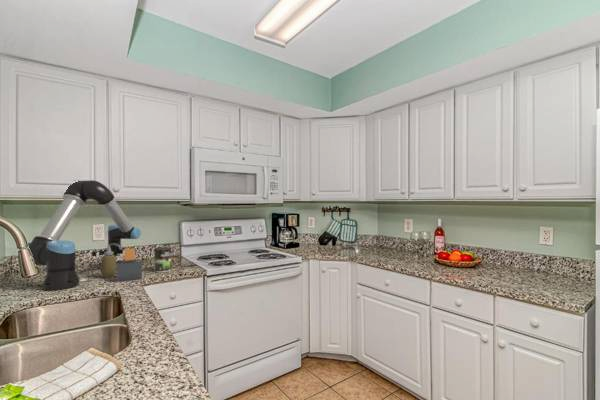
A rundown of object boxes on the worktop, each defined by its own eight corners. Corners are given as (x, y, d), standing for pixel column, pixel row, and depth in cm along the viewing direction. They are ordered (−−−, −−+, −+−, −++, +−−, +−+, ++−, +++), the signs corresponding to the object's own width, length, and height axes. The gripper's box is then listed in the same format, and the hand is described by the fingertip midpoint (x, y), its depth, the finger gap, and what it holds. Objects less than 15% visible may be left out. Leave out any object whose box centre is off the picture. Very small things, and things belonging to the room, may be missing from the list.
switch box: (117, 281, 165) (117, 263, 165) (118, 278, 172) (117, 260, 172) (141, 279, 171) (141, 261, 171) (141, 276, 178) (141, 258, 178)
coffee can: (174, 270, 193) (174, 248, 193) (159, 273, 185) (159, 250, 185) (166, 268, 199) (166, 246, 199) (150, 271, 191) (150, 248, 191)
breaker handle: (123, 262, 167) (123, 249, 167) (123, 261, 170) (123, 249, 170) (135, 261, 170) (135, 249, 170) (135, 260, 173) (135, 248, 173)
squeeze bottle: (113, 278, 174) (113, 246, 174) (97, 278, 172) (97, 247, 172) (119, 274, 182) (119, 244, 182) (104, 275, 180) (104, 245, 180)
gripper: (134, 253, 207) (134, 259, 188) (90, 257, 195) (85, 263, 177) (134, 242, 207) (134, 246, 188) (90, 245, 195) (85, 250, 177)
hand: (110, 254), depth 182 cm, fingers open, 13 cm apart
